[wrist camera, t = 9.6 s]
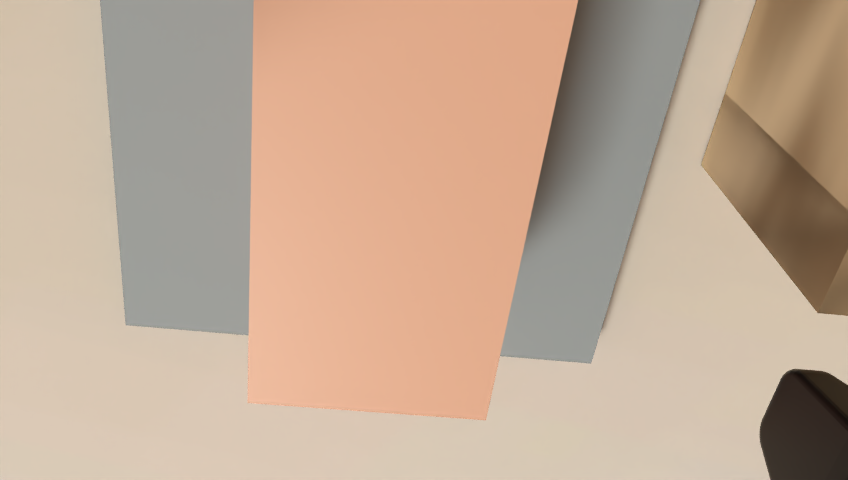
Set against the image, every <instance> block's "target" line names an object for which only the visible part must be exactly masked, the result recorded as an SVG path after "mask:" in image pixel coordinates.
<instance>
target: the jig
mask: <svg viewBox="0 0 848 480" xmlns="http://www.w3.org/2000/svg"><path fill="white" fill-rule="evenodd" d="M701 165H702V167H703V168H704V169H705V170H706V172H707V173H708V174H709V176H710V177H711V178H712V179H713V181H714V182H715V183H716V184H717V186H718V187H719V188H720V189H721V191H722V192H723V193H724V195H725V196H726V197H727V198H728V200H729V201H730V202H731V203H732V205H733V206H734V207H735V209H736V210H737V211H738V212H739V214H740V215H741V216H742V217H743V219H744V220H745V221H746V222H747V224H748V225H749V226H750V228H751V229H752V230H753V231H754V233H755V234H756V235H757V236H758V238H759V239H760V240H761V242H762V243H763V244H764V245H765V247H766V248H767V249H768V250H769V252H770V253H771V254H772V255H773V257H774V258H775V259H776V261H777V262H778V263H779V264H780V266H781V267H782V268H783V269H784V271H785V272H786V273H787V274H788V276H789V277H790V278H791V280H792V281H793V282H794V283H795V285H796V286H797V287H798V288H799V290H800V291H801V292H802V294H803V295H804V296H805V297H806V299H807V300H808V301H809V302H810V304H811V305H812V306H813V307H814V309H815V310H816V311H817V313H824V314H835V315H846V316H848V0H756V3H755V6H754V9H753V12H752V15H751V18H750V21H749V24H748V27H747V30H746V33H745V36H744V39H743V42H742V45H741V48H740V51H739V54H738V57H737V60H736V63H735V66H734V69H733V72H732V75H731V78H730V81H729V84H728V87H727V90H726V93H725V95H724V98H723V101H722V104H721V107H720V110H719V113H718V116H717V119H716V122H715V125H714V128H713V131H712V134H711V137H710V140H709V143H708V146H707V149H706V152H705V155H704V158H703V161H702V164H701Z"/></svg>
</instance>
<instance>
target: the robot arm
mask: <svg viewBox="0 0 848 480" xmlns="http://www.w3.org/2000/svg"><path fill="white" fill-rule="evenodd" d="M760 443H761V447H762V451H763V454H764V458H765V462H766V465H767V469H768V472H769V476H770V480H848V385H846V384H845V383H843V382H842V381H840V380H839V379H837V378H836V377H834V376H833V375H831V374H829V373H827V372H823V371H815V370H803V369H792V370H789V371H788V372H786V373H785V374H784V375H783V377H782V378H781V380H780V382H779V384H778V387H777V389H776V391H775V393H774V395H773V397H772V400H771V402H770V404H769V406H768V408H767V410H766V413H765V415H764V417H763V419H762V422H761V426H760Z"/></svg>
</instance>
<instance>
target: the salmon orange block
mask: <svg viewBox="0 0 848 480" xmlns="http://www.w3.org/2000/svg"><path fill="white" fill-rule="evenodd" d="M577 3H578V0H254V6H253V73H252V141H251V208H250V276H249V344H248V403H256V404H270V405H284V406H298V407H311V408H325V409H339V410H353V411H367V412H380V413H394V414H408V415H422V416H436V417H450V418H463V419H477V420H486V417H487V412H488V408H489V403H490V399H491V394H492V390H493V385H494V380H495V376H496V371H497V367H498V362H499V358H500V353H501V349H502V344H503V340H504V335H505V330H506V326H507V321H508V317H509V312H510V308H511V303H512V299H513V294H514V290H515V285H516V281H517V276H518V271H519V267H520V262H521V258H522V253H523V249H524V244H525V240H526V235H527V231H528V226H529V221H530V217H531V212H532V208H533V203H534V199H535V194H536V190H537V185H538V181H539V176H540V171H541V167H542V162H543V158H544V153H545V149H546V144H547V140H548V135H549V131H550V126H551V122H552V117H553V112H554V108H555V103H556V99H557V94H558V90H559V85H560V81H561V76H562V72H563V67H564V62H565V58H566V53H567V49H568V44H569V40H570V35H571V31H572V26H573V22H574V17H575V12H576V8H577Z"/></svg>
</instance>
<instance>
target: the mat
mask: <svg viewBox="0 0 848 480" xmlns="http://www.w3.org/2000/svg"><path fill="white" fill-rule="evenodd" d="M699 3H700V0H578V3H577V8H576V12H575V17H574V22H573V26H572V31H571V35H570V40H569V44H568V49H567V53H566V58H565V62H564V67H563V72H562V76H561V81H560V85H559V90H558V94H557V99H556V103H555V108H554V112H553V117H552V122H551V126H550V131H549V135H548V140H547V144H546V149H545V153H544V158H543V162H542V167H541V171H540V176H539V181H538V185H537V190H536V194H535V199H534V203H533V208H532V212H531V217H530V221H529V226H528V231H527V235H526V240H525V244H524V249H523V253H522V258H521V262H520V267H519V271H518V276H517V281H516V285H515V290H514V294H513V299H512V303H511V308H510V312H509V317H508V321H507V326H506V330H505V335H504V340H503V344H502V349H501V353H500V356H506V357H518V358H531V359H543V360H555V361H567V362H579V363H591V362H592V359H593V355H594V352H595V349H596V345H597V342H598V339H599V335H600V332H601V329H602V325H603V322H604V319H605V315H606V312H607V309H608V305H609V302H610V299H611V295H612V292H613V289H614V285H615V282H616V279H617V275H618V272H619V269H620V265H621V262H622V259H623V255H624V252H625V249H626V245H627V242H628V239H629V236H630V232H631V229H632V226H633V222H634V219H635V216H636V212H637V209H638V206H639V202H640V199H641V196H642V192H643V189H644V186H645V182H646V179H647V176H648V172H649V169H650V166H651V162H652V159H653V156H654V152H655V149H656V146H657V142H658V139H659V136H660V132H661V129H662V126H663V122H664V119H665V116H666V112H667V109H668V106H669V102H670V99H671V96H672V92H673V89H674V86H675V82H676V79H677V76H678V72H679V69H680V66H681V62H682V59H683V56H684V53H685V49H686V46H687V43H688V39H689V36H690V33H691V29H692V26H693V23H694V19H695V16H696V13H697V9H698V6H699ZM100 6H101V18H102V31H103V44H104V56H105V69H106V82H107V94H108V107H109V120H110V132H111V145H112V158H113V170H114V183H115V195H116V208H117V221H118V233H119V246H120V259H121V271H122V284H123V297H124V309H125V322H126V325H131V326H143V327H155V328H167V329H179V330H191V331H203V332H215V333H228V334H240V335H249V276H250V208H251V141H252V73H253V6H254V0H100Z"/></svg>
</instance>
